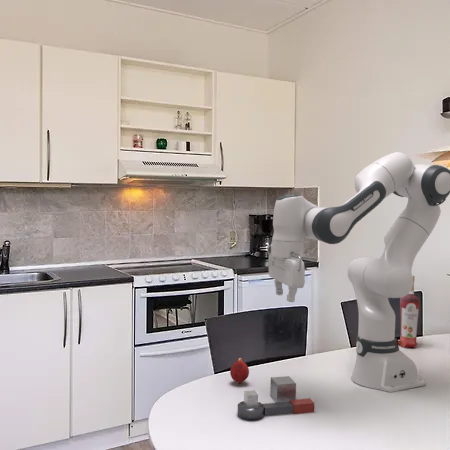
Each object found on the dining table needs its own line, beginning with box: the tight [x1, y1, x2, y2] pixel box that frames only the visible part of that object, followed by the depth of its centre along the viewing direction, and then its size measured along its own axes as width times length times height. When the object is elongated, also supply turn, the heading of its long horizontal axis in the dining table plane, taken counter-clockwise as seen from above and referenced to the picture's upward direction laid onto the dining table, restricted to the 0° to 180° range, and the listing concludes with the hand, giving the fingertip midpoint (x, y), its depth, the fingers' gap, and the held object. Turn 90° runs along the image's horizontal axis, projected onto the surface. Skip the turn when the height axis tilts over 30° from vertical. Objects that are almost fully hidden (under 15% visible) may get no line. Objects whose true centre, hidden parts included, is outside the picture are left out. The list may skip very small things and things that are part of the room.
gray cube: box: [269, 375, 297, 403], centre depth 142 cm, size 6×6×6 cm
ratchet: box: [236, 389, 315, 422], centre depth 133 cm, size 21×7×6 cm, turn 104°
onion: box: [229, 357, 250, 385], centre depth 154 cm, size 6×6×8 cm
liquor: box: [399, 275, 421, 349], centre depth 195 cm, size 7×7×28 cm
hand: (284, 298), depth 144 cm, fingers open, 8 cm apart
